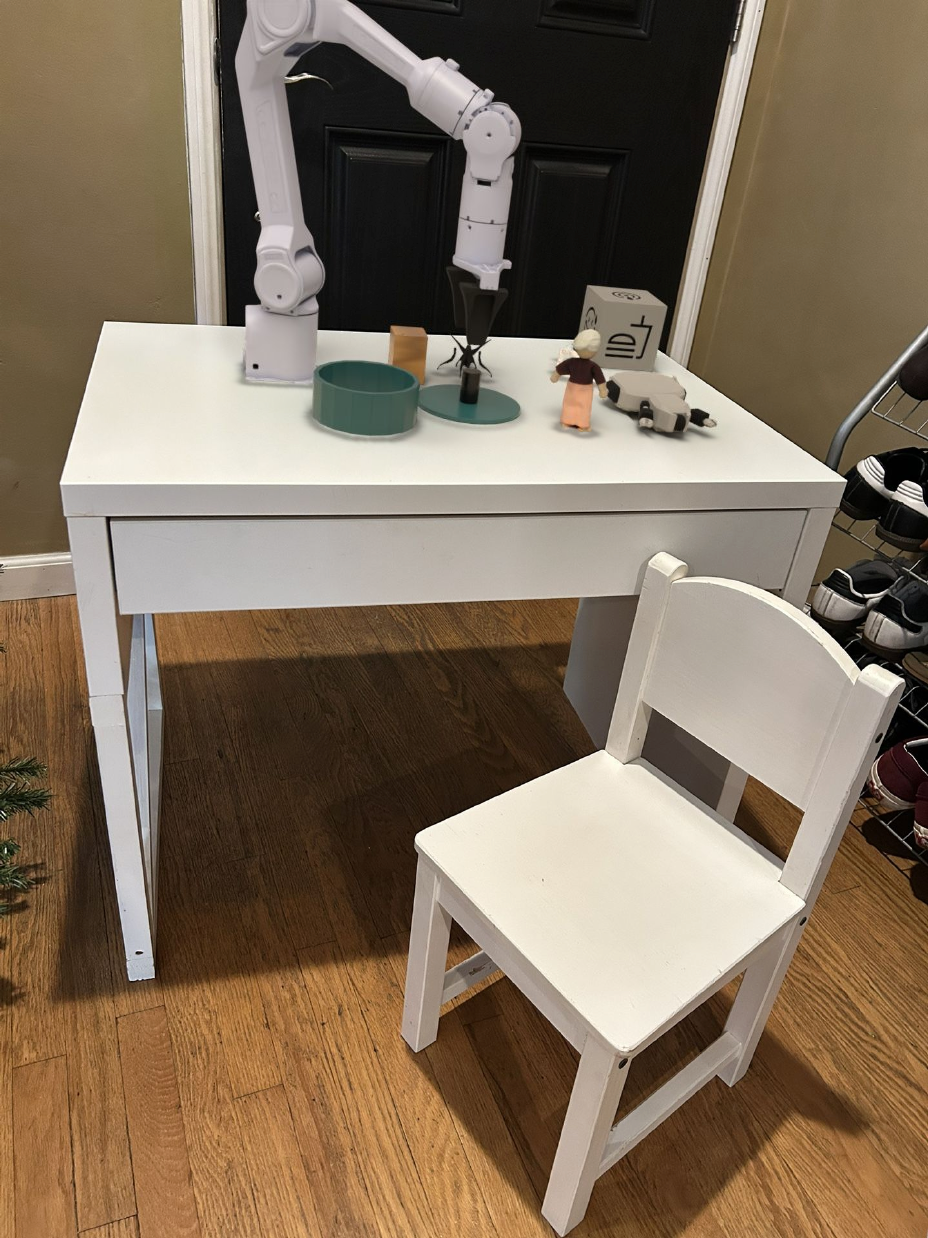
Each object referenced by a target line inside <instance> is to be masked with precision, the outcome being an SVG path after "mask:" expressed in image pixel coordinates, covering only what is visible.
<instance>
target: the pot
mask: <svg viewBox="0 0 928 1238" xmlns="http://www.w3.org/2000/svg"><path fill="white" fill-rule="evenodd" d="M312 382H313V383H312V400H311V402H312V403H311V415H312V418H313V419H314V420H315V421H316V422H318V423H319V424H320V425H322V426H325V427H327V428H329V429H331V430H334V431H338V432H341V433H342V432H343V433H346V434H351V435H356V436H357V435H358V436H369V437H375V436H379V437H381V436H382V437H383V436H392V435H393V436H394V435H398V434H403V433H406V432H408V431H410V430H412V429H414V427H415V426H416V424H417V421H418V409H419V406H418V400H419V390H421V389H420V388H421V385H420V381H419V379H418V377H417V376H416V375H414V374H413V373H411V372H410V371H408V370H405V369H402V368H400V367H397V366H393V365H389V364H388V363H385V362H378V361H371V360H360V359H358V360H356V359H353V360H352V359H351V360H350V359H344V360H336V361H335V360H334V361H328V362H325V363H322V364H319V365H317V368H316V369H315V370H314V371H313V381H312Z"/></svg>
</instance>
